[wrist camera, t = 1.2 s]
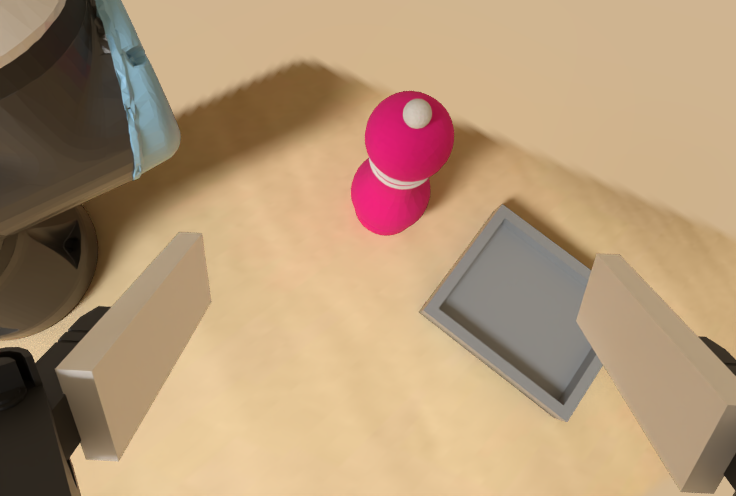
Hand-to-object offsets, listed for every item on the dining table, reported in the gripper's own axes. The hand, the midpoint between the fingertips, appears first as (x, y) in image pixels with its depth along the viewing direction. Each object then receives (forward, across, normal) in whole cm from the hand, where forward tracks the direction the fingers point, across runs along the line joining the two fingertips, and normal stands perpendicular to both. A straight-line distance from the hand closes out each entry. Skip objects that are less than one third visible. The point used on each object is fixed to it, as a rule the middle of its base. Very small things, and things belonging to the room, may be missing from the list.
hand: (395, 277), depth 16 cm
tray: (+25, +14, -18) cm, 34 cm away
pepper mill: (+30, 0, -10) cm, 32 cm away
